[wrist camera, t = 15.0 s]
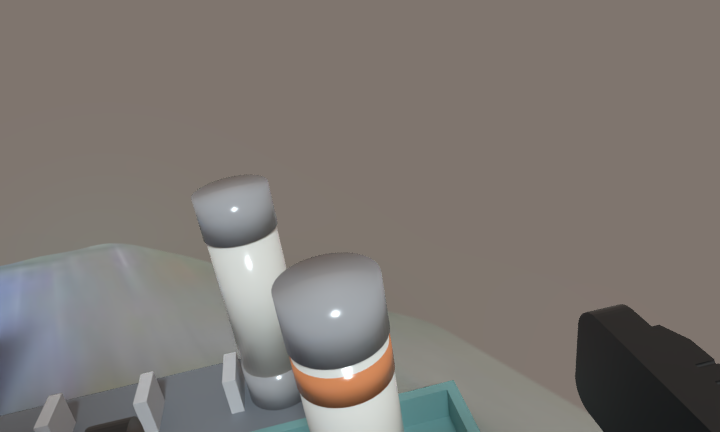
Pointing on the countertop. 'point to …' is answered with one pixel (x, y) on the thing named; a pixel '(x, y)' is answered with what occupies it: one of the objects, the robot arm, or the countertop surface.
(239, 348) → the fuse
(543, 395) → the countertop surface
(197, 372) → the fuse board
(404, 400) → the tray
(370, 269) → the fuse marked
